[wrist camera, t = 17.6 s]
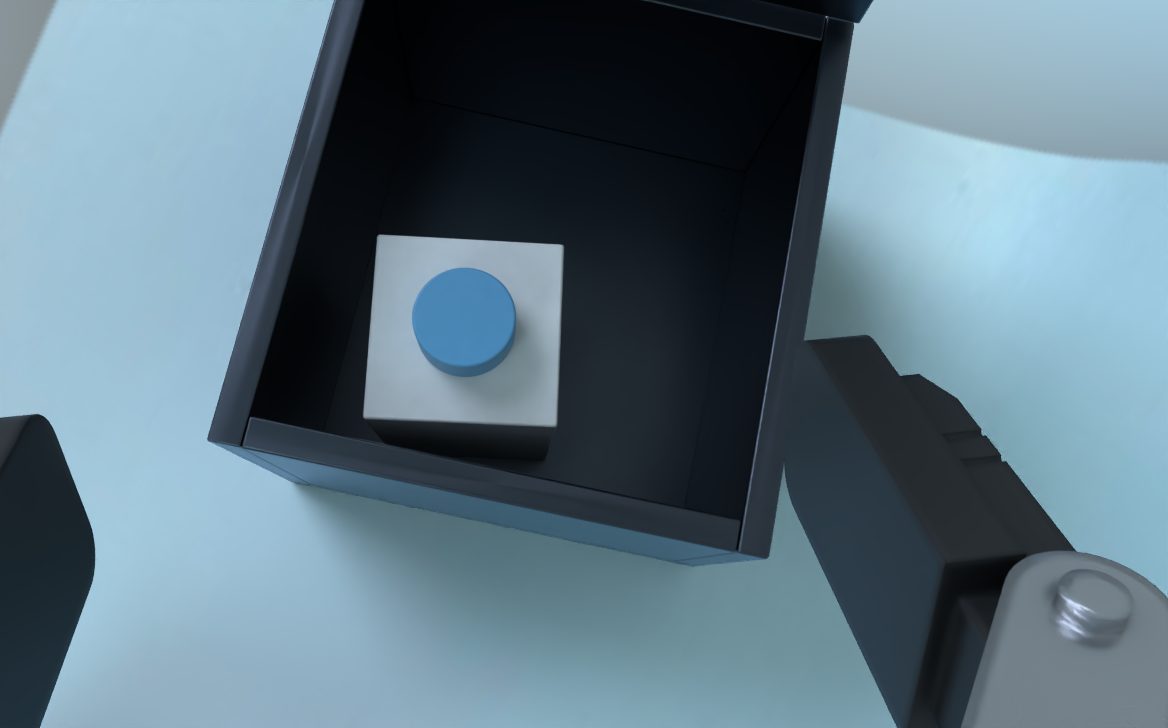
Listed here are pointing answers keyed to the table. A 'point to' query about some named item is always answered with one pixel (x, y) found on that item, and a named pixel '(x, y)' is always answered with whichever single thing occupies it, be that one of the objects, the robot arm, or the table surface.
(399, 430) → the white box
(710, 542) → the black open box
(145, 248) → the table surface
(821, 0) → the lid
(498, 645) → the table surface
